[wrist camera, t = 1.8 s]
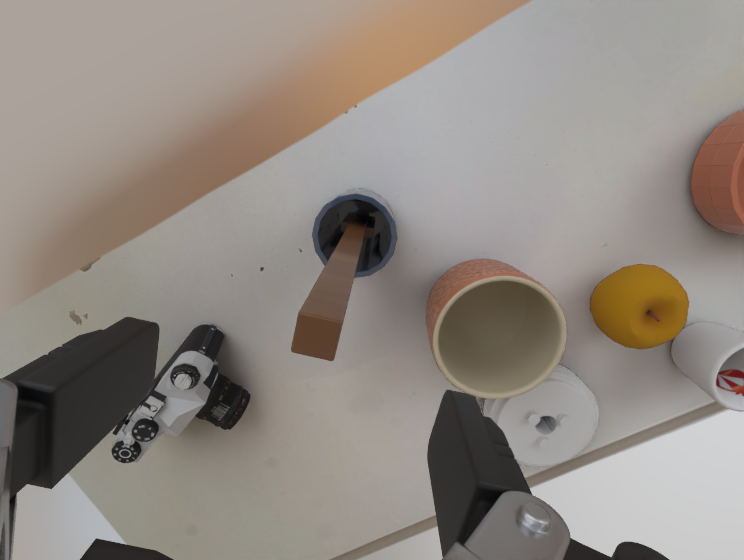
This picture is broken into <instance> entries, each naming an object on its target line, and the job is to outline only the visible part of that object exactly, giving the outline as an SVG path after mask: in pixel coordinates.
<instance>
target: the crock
mask: <svg viewBox="0 0 744 560" xmlns="http://www.w3.org/2000/svg"><path fill="white" fill-rule="evenodd" d="M354 215H358V216H362V217H367V218H368V221H372V222H375V226H374V232H373V236H372V238H369V237H364V239H363V243H362V247H361V251H360V255H359V260H358V264H357V268H356V272H355V276H354V278H357V277H363V276H369V275H371V274H373V273H375V272H376V271H378V270H380V269H382V268H383V267H384V266H385V265H386V263H387V262H388V261H389V259H390V258H391V257H392V255H393V253H394V250H395V246H396V242H397V233H396V226H395V221H394V217H393V213H392V210H391V209H390V207H389V205H388V204H387V202H386V200H385V199H384V198H382V197H381V196H380V195H378V194H377V193H375V192H374V191H370V190H367V189H362V188H359V189H353V190H348V191H346V192H344V193H343V194H341V195H339V196H338V197H336V198H335V199H333V200H332V201H330V202H329V203H327V204H326V205H325V206H324V207H323V208H322V210H321V211H320V213H319V214H318V216H317V217H316V219H315V223H314V228H313V233H312V237H313V242H314V247H315V251H316V253H317V255H318V256H319V258H320V259H321V261H322V262H323V264H324V265H325V266H326V264H327V262H328V260H329V259H330V257H331V255H332V253H333V252H334V250H335V248H336V246H337V245H338V243H339V241H340V239H341V238H342V236H343V234H344V232H343V231H341V226H342V221H343V220H344V219H345V217H346V216H351V217H353V216H354Z"/></svg>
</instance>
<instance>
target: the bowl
mask: <svg viewBox="0 0 744 560" xmlns="http://www.w3.org/2000/svg"><path fill="white" fill-rule="evenodd" d="M691 191H692V196H693V200H694V205H695V206H696V208H697V209H698V211H699V212H700V214H701V215H702V217H703V218H704V220H705V221H707V222H708V223H710V224H711V225H713V226H714V227H715V228H717V229H718V230H721V231H725V232H729V233H733V234H737V235H742V236H744V109H743V110H741V111H738V112H736V113H734V114H733V115H731V116H730V117H729V118H727V119H726V120H725V121H723V122H722V123H721V124H719V125H718V126H717V127H716V128H715V129H714V130H713V132H712V133H711V134H710V135H709V137H708V138H707V139H706V141H705V142H704V143H703V144H702V146H701V148H700V150H699V153H698V155H697V157H696V160H695V162H694V164H693V170H692V179H691Z"/></svg>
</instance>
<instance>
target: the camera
mask: <svg viewBox="0 0 744 560" xmlns="http://www.w3.org/2000/svg"><path fill="white" fill-rule="evenodd" d="M224 337H225V333H224V331H223V330H221V329H220V328H218V327H216V326H215V325H213V324H208V323H202V324H200V325H197V326H196V327H195V328H194V330H193V331H192V332H191V333H190V335H189V336H188V337H187V338H186V340H185V341H184V342H183V344H182V345H181V346H180V347H179V349H178V350H177V351H176V352H175V354H174V355H173V356H172V357H171V359H170V360H169V361H168V363H167V364H166V365H165V366H164V368H163V369H162V370H161V371H160V373H159V374H158V375H157V376H156V378H155V379H154V381H153V384H152V386H151V388H150V390H149V392H148V394H147V395H146V397H145V398H144V399H143V400H142V401H141V402H140V403H139V404H138V405H137V406H136V407H135V408H134V410H133V412H132V413H131V415H130V417H129V418H128V420H126V419H127V417H128V415H127V416H126V417H125V418H123V419H122V420H121V421H120V422H119V423H118V425H117V427H116V429H115V430H114V432H113V434H114V435H118V436H117V438H116V439H115V441H114V443H113V448H112V455H113V457H114V459H116V460H117V461H119V462H122V463H129V462H136V463H137V462H138V461H139V460H140V458H141V457H142V456H143V455H144V453H145V452H146V451H147V450H148V449H149V447H150V446H151V445H152V444H153V443H154V441H155V440H156V439H157V438H158V437H159V435H160V434H161V433H164V434H169V435H174V436H179V435H180V433H181V432H182V431H183V430H184V429H185V427H186V426H187V425H188V424H189V423H190V421H191V420H192V419H193V418H194V417H195V416H196V417H198V418H200V419H203V420H207V421H209V422H211V423H213V424H215V426H217V427H221V428H222V429H224V430H226V429H231V428H232V427H233V426H234V425H235V424H236V423H237V422H238V420H239V419H240V418H241V416H242V415H243V413H244V411H245V409H246V407H247V405H248V403H249V400H250V394H249V393H248V391H247V390H245V389H243V388H242V387H241V386H238V385H236V384H234V383H232V382H230V380H229V379H228V378H226V377H224V376H223V375H221V374H219V373H218V368H217V364H218V363H217V361H215V359H216V356H217V354H218V352H219V349H220V347H221V344H222V342H223V339H224ZM125 420H126V421H125ZM124 422H125V425H124V426H123V424H124ZM122 426H123V428H122V429H121V427H122Z"/></svg>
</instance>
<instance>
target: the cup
mask: <svg viewBox="0 0 744 560" xmlns="http://www.w3.org/2000/svg"><path fill="white" fill-rule="evenodd" d="M671 355H672V358H673V361H674V363H675V364H676V366H677V367H678V368H679V369H680V370H681V371H682V372H683V373H684V374H685V375H686V376H688V377H689V378H690V379H691V380H692V381H693V382H694V383H696V384H697V385H698V386H699V387H700V388H701V389H703V390H704V391H705V392H706V393H707V394H708V395H709V396H711V397H712V398H713V399H714V400H715V401H716V402H718V403H719V404H720V405H722V406H724V407H725V408H728V409H731V410H734V411H744V332H743V331H740V330H737V329H734V328H730V327H727V326H724V325H721V324H717V323H712V322H699V323H694V324H691V325H689V326H687V327H685V328H684V329H683V330H682V331H681V332H680V333H679V334H678V335H677V336H676V337H675V339H674V341H673V343H672V347H671Z"/></svg>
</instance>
